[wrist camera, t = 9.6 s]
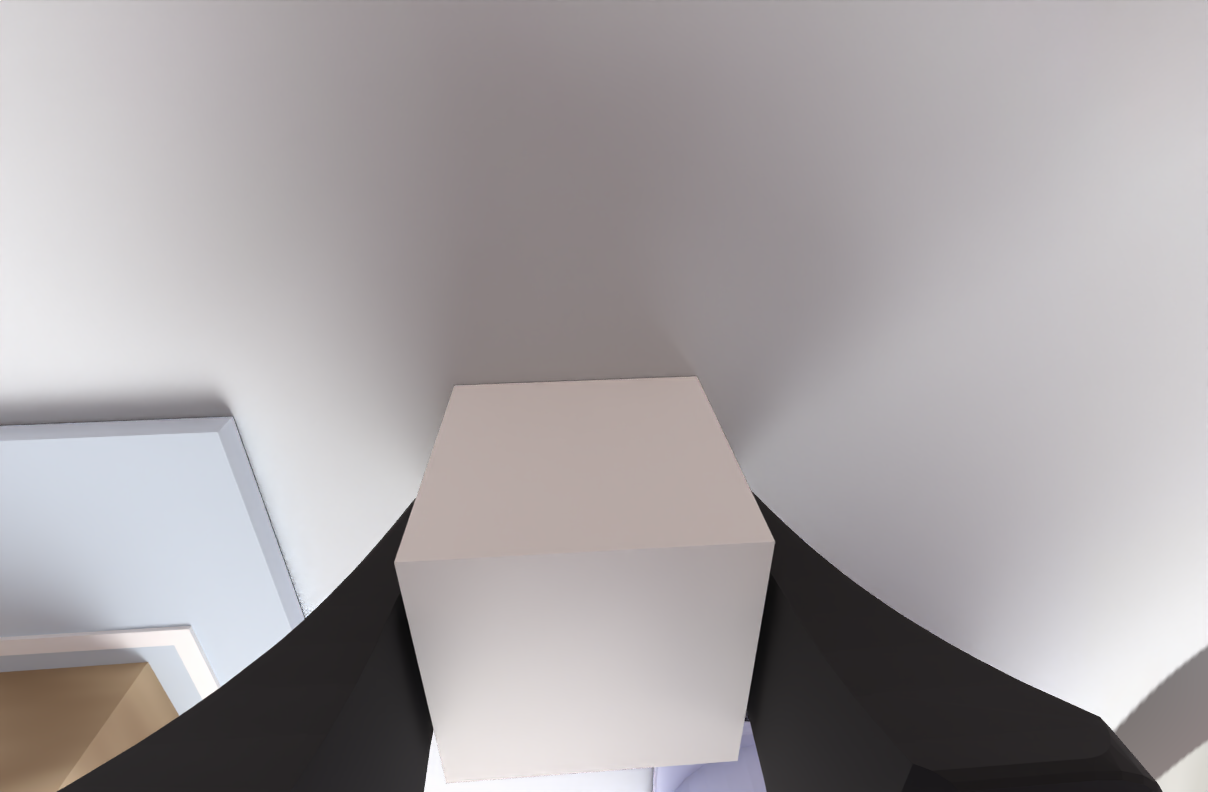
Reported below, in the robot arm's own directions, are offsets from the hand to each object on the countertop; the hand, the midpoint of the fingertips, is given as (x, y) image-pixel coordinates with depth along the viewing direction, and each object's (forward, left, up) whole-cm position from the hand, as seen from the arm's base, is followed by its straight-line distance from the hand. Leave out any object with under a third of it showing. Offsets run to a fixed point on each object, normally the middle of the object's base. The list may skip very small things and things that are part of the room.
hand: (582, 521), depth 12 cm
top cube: (0, 0, -1) cm, 1 cm away
